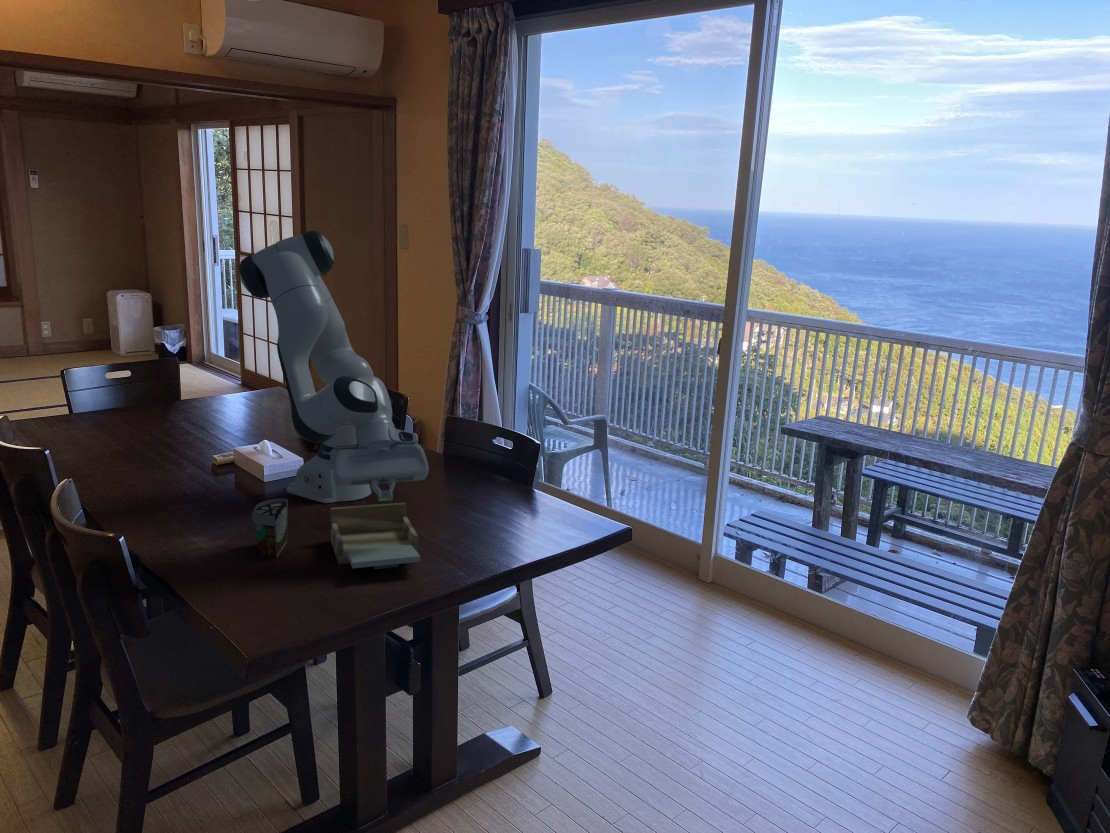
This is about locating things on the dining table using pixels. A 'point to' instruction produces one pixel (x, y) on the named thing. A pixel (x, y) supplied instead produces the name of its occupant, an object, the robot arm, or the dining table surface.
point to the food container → (271, 526)
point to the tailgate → (382, 556)
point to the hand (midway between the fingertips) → (385, 499)
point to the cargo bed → (370, 528)
